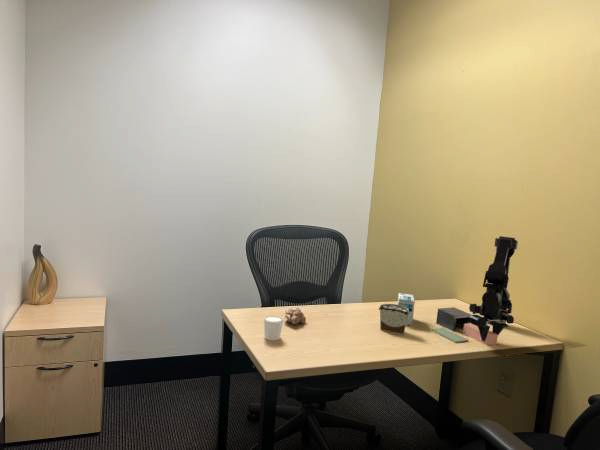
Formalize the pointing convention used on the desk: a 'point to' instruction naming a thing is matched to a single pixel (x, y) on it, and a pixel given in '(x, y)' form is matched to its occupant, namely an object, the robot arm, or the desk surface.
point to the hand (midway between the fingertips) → (488, 340)
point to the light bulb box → (407, 305)
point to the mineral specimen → (295, 315)
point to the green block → (449, 335)
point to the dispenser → (452, 318)
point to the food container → (393, 318)
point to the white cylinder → (272, 327)
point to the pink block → (474, 333)
